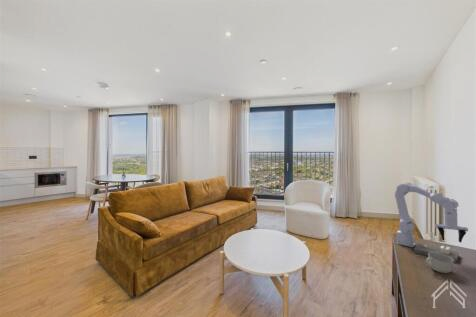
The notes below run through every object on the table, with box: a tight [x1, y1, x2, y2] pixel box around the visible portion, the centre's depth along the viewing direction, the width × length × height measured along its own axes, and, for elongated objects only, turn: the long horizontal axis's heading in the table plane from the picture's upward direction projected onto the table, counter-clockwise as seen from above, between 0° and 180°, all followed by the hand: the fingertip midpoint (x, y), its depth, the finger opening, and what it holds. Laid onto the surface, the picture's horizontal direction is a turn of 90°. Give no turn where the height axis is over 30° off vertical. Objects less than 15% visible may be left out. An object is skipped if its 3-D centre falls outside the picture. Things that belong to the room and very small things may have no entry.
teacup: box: [425, 252, 455, 274], centre depth 123 cm, size 14×11×8 cm
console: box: [413, 243, 459, 263], centre depth 142 cm, size 20×12×2 cm, turn 41°
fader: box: [439, 245, 451, 255], centre depth 138 cm, size 4×5×3 cm
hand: (451, 240), depth 137 cm, fingers open, 7 cm apart
